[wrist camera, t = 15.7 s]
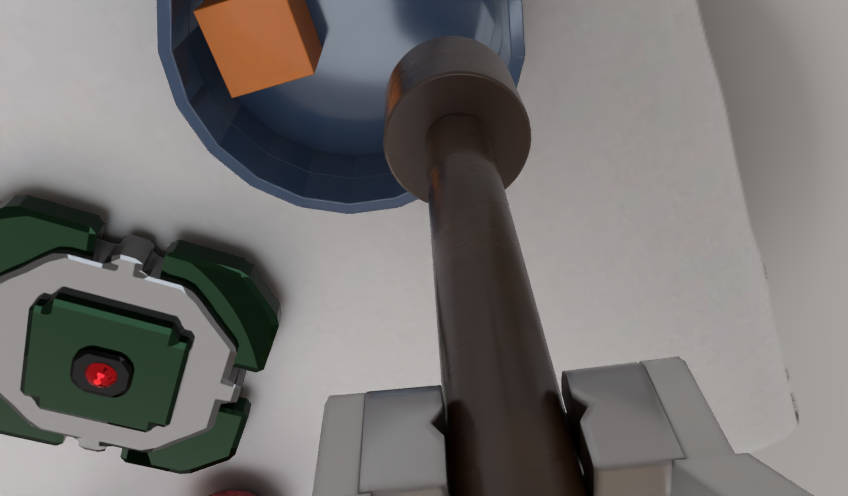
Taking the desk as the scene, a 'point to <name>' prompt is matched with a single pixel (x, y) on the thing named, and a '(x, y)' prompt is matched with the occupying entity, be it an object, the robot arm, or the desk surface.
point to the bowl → (324, 95)
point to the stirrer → (480, 269)
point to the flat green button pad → (126, 339)
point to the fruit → (233, 493)
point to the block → (259, 41)
